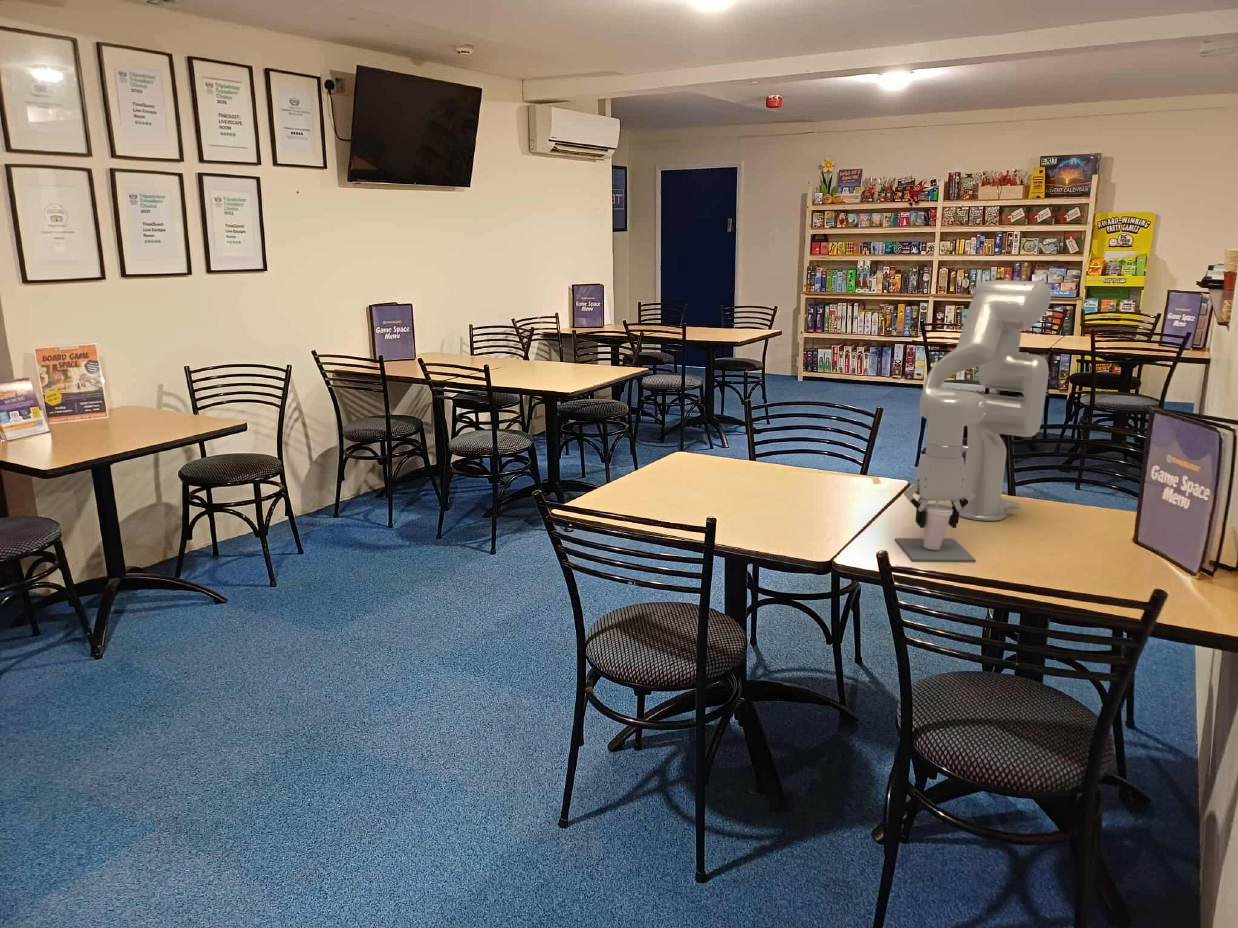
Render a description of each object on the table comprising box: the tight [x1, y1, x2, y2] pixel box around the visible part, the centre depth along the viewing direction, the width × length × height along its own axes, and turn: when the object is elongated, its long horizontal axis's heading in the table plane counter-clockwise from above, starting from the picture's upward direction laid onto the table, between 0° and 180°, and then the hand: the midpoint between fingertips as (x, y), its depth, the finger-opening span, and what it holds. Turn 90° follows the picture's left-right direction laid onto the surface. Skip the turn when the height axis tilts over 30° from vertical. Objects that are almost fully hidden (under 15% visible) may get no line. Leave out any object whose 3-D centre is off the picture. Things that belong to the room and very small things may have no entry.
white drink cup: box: [923, 500, 953, 550], centre depth 198 cm, size 6×6×14 cm
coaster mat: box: [894, 537, 977, 563], centre depth 200 cm, size 14×14×1 cm
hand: (936, 525), depth 198 cm, fingers open, 6 cm apart
